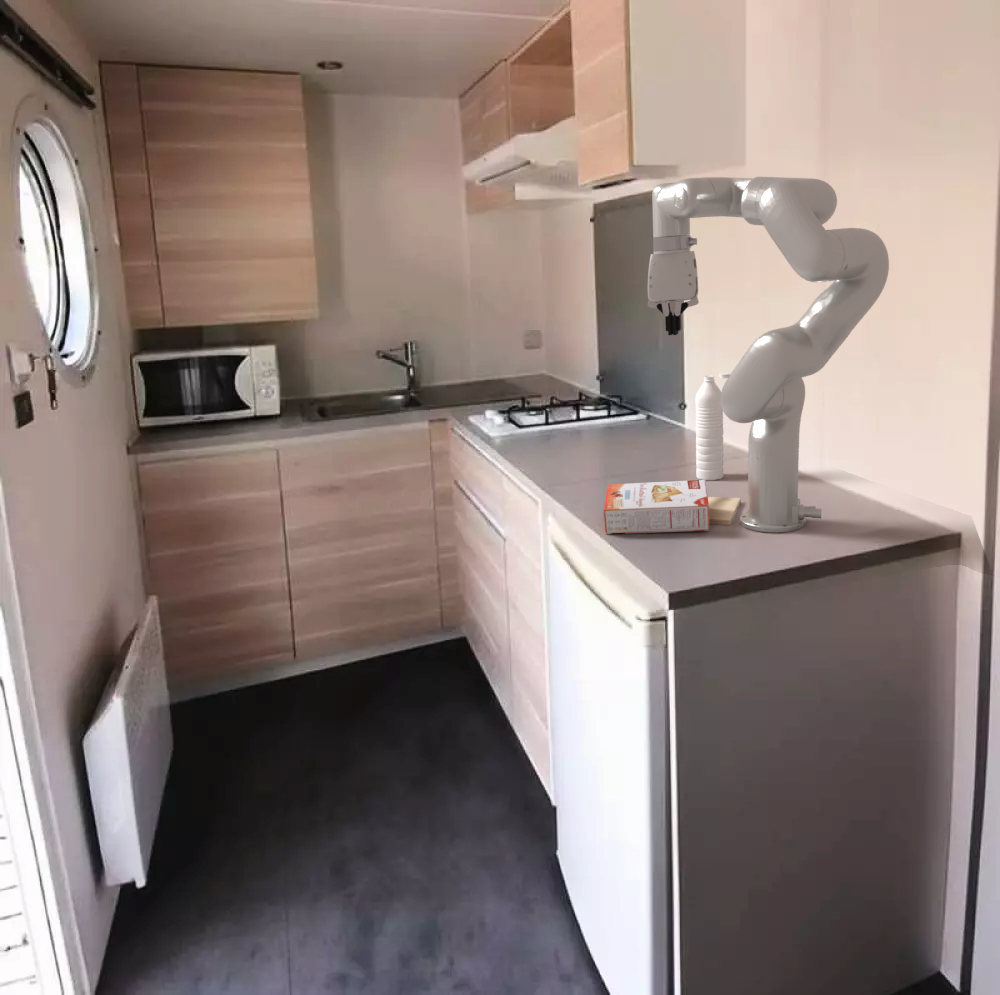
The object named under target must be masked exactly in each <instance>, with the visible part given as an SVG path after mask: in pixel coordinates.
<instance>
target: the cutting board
mask: <svg viewBox="0 0 1000 995" xmlns="http://www.w3.org/2000/svg"><path fill="white" fill-rule="evenodd" d="M741 500H742V499H741V497H724V496H722V497H720V496H719V497H718V496H708V503H709V525H711V524H712V525H727V526H728V525H729V526H730V525H731V524H732V523H733V520H734V518H735V515H736V513H737V511H738V509H739V507H740V505H741V503H742V502H741Z"/></svg>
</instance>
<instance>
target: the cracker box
mask: <svg viewBox="0 0 1000 995" xmlns="http://www.w3.org/2000/svg"><path fill="white" fill-rule="evenodd" d="M706 483H707V482H706V480H702V479H697V480H695V479H692V480H675V481H654V482H653V481H651V482H634V483H610V484H607V485H606V492H605V493H606V494H605V500H604V505H603V506H604V507H603V518H604V519H603V520H604V530H605V531H604V532H606V533H625V534H647V533H674V532H677V533H678V532H681V533H682V532H705V531H706V532H707V531H710V524H709V503H708V497H709V496H708V490H707V484H706ZM606 533H605V534H606Z"/></svg>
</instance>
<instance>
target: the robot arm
mask: <svg viewBox="0 0 1000 995" xmlns="http://www.w3.org/2000/svg"><path fill="white" fill-rule="evenodd" d="M651 200H652V201H651V202H652V235H653V237H652V238H653V239H652V241H653V244H652V245H653V246H652V247H653V249H652V250H653V253H651V254H650V257H649V261H648V262H649V264H648V272H647V298H648V300H647V305H646V306H647V307H648V308H651V309H656V310H658V311H659V312H660V313H662V314H663V316H664V317H665V322H664V323H665V332H667V335H668V336H672V335H673V336H677V335H679V331H681V330H682V320H681V319H682V317H681V316H682V314H683V313H684V312H685V311H686V309H688V308H691V307H694V306H696V305H699V298H698V295H699V278H698V266H697V260H696V254H695V253H696V252H695V250H692V251H691V248H692V247H693V246H695V245H696V246H697V244H698V238H697V237H695V238H694V237H692V236H691V224H690V223H691V222H690V221H691V219H696V218H697V219H699V218H708V217H709V218H711V217H712V218H714V217H715V218H717V217H726V218H728V217H729V218H731V217H732V218H742V219H744V221H746V222H747V223H748V224H750V225H752V226H763V227H764V228H765V230H766V232H767V233H768V235H769V236H770V238H771V240H772V241H773V242H774V244H775V246H776V247H777V248H778V250H779V251H780V252H781V254H782V255H783V257H784V258H785V260H786V261H787V263H788V264H789V266H790V267H791V268H792V270H793V271H794V272H795V273H796V274H797V275H798V276H799V277H800V278H802V279H804V280H805V281H807V282H810V283H826V282H832V281H833V282H832V283H831V284H830V285H829V286H828V287H827V288H826V289H824V291H823V292H821V293H820V294H819V295H818V296H817V297H816V298H815V299H814V300H813V302H812V303H811V304H810V306H809V307H808V309H807V311H806V312H804V314H803V315H802V316H801V317H800V319H799V320H798V321H796V322H795V323H793V324H792V325H789V326H786V327H780V328H775V329H772V330H769V331H767V332H765V333H763V334H761V335H760V336H758V338H756V339H755V341H754V342H753V343H752V344H751V345H750V346H749V348H747V350H746V351H745V353H744V355H743V356H742V357H741V359H740V360H739V362H738V363H737V365H736V366H735V367H734V369H733V370H732V371H731V373H730V376H729V377H728V378H726V380H725V382H724V384H723V386H722V389H721V406H722V410H723V414H724V415H725V416H726V417H727V418H728V419H729V420H731V421H733V422H735V423H738V424H750V423H751V425H750V428H749V432H748V444H747V446H748V461H747V462H748V464H747V466H748V467H747V468H748V473H747V474H748V482H747V486H748V487H747V488H748V489H747V490H748V491H747V494H748V495H747V496H748V497H747V501H748V502H747V512H744V513H742V514H741V516H740V517H739V522H740V525H741V526H742V527H744V528H746V529H749V530H752V531H756V532H761V533H762V532H763V533H785V532H787V533H788V532H791V531H792V532H793V531H796V530H799V529H802V528H803V527H805V525H806V518H812V519H822V508H816V506H815V505H804V504H801V498H799V493H798V492H799V463H800V462H799V459H800V457H799V452H800V451H799V449H800V431H801V430H800V429H801V428H800V427H801V421H802V414H803V409H804V404H805V399H806V385H805V382H804V379H803V378H805V377H808V376H812V375H814V374H816V373H818V372H820V371H821V370H822V369H823V368H824V367H825V366H826V365H827V364H828V362H829V361H830V359H831V358H832V356H833V355H834V354H835V353H836V352H837V351H838V350H839V348H840V347H841V346H842V345H843V343H844V342H845V341H846V339H847V338H848V337H849V335H850V334H851V332H853V330H854V329H855V328H856V326H857V325H858V324H859V323H860V321H861V320H862V319H863V318H864V317H865V315H866V314H867V313H868V312H870V310H871V309H872V307H873V306H874V305H875V303H876V302H877V300H878V299H879V297H880V296H881V293H882V292H883V291H884V289H885V286H886V283H887V280H888V275H889V271H890V259H889V253H888V250H887V246H886V244H885V243H884V241H883V239H882V238H881V237H880V235H878V234H877V233H875V232H873V231H872V230H869V229H866V228H857V227H847V228H846V227H845V228H836V229H826V228H825V227H824V224H825V223H827V222H828V221H829V220H830V219H832V216H833V215H834V214H835V211H836V208H837V206H838V198H837V194H836V191H835V189H834V188H833V187H832V185H830V184H829V183H828V182H826V181H824V180H821V179H818V178H811V177H810V178H808V177H806V178H805V177H774V176H755V177H754V178H753V177H752V178H751V177H750V178H749V177H748V178H745V177H723V176H719V177H716V176H715V177H714V176H713V177H712V176H711V177H708V176H707V177H688V178H684V179H682V180H679V181H676V182H667V183H661V184H660V183H659V184H656V185H655V186H654V187H653V188H652V195H651ZM671 302H675V306H674V312H673V311H672V307H671Z"/></svg>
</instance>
